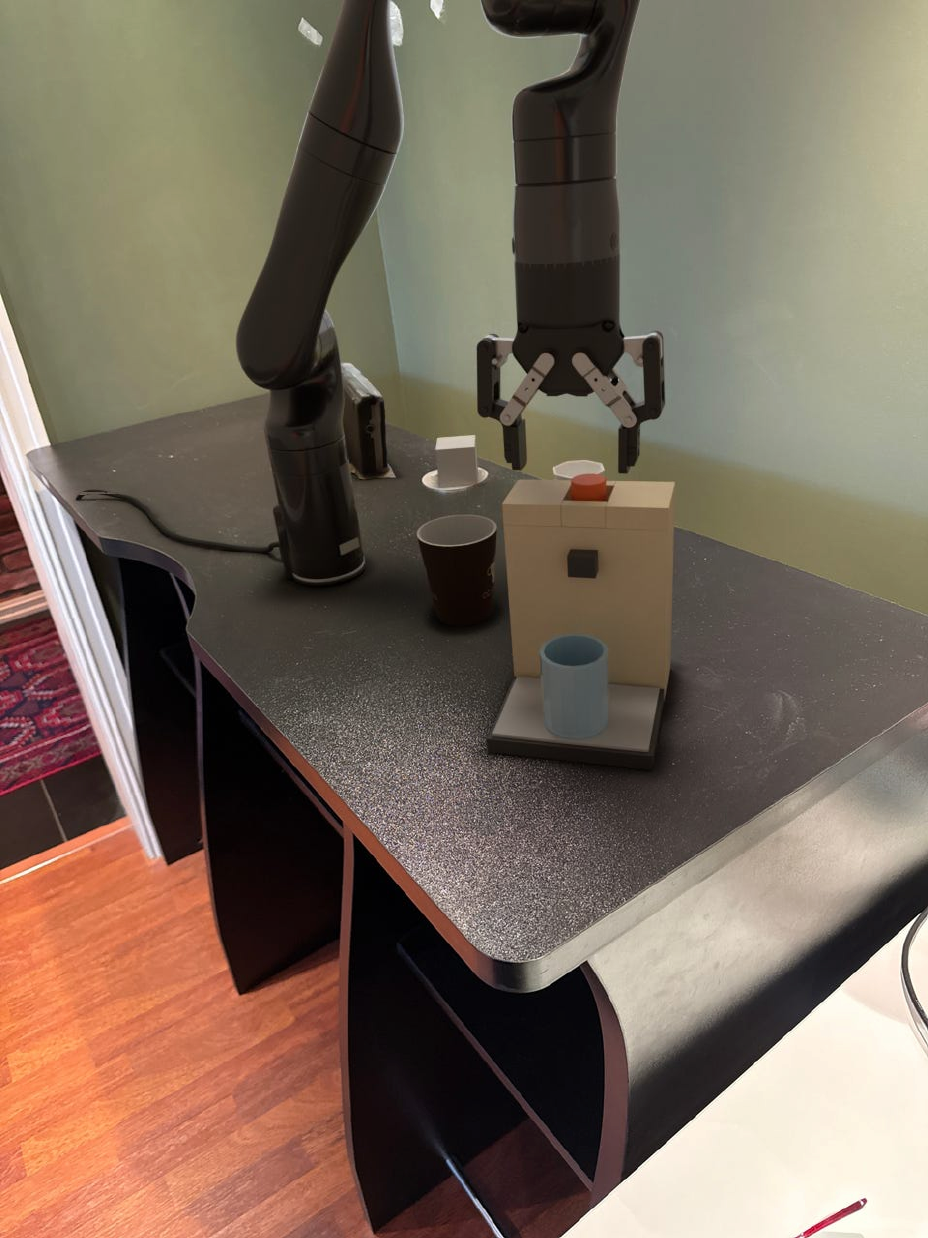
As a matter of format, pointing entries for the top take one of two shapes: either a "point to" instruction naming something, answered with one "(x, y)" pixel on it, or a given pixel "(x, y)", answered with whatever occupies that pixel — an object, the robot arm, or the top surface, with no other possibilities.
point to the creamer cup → (575, 685)
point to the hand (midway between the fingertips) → (570, 468)
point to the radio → (364, 426)
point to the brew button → (589, 488)
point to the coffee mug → (460, 566)
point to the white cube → (456, 461)
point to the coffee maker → (589, 611)
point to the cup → (577, 469)
